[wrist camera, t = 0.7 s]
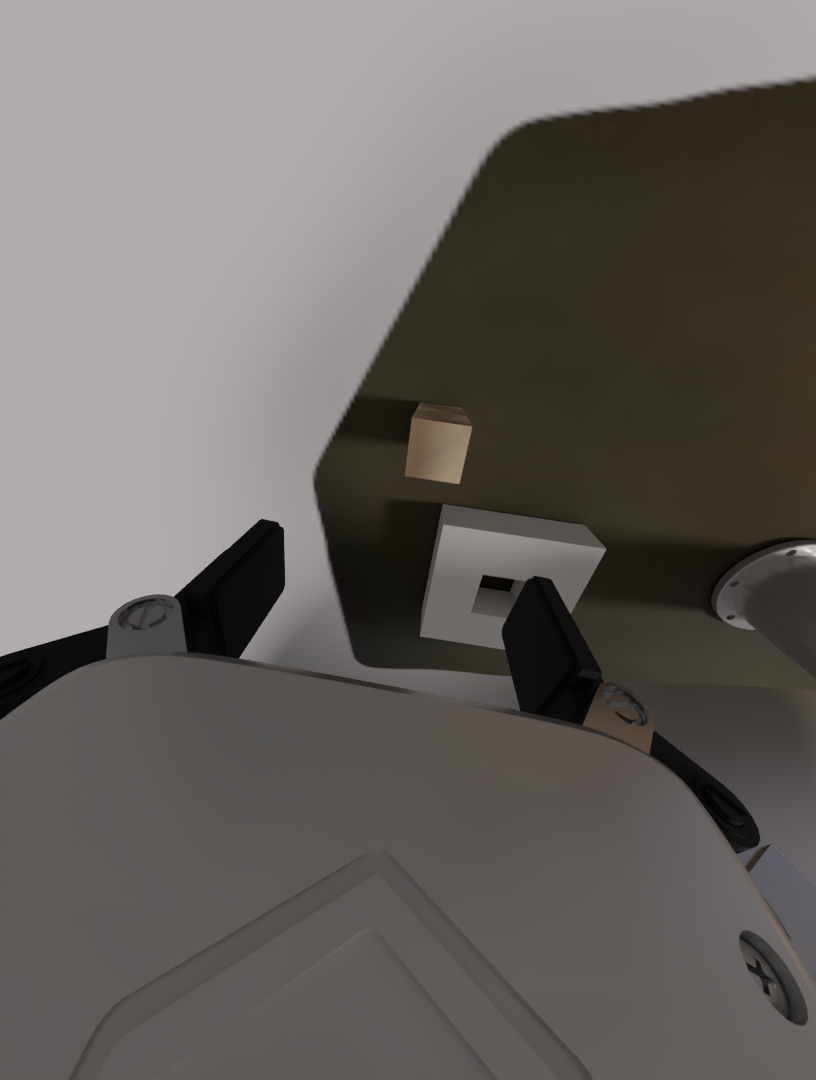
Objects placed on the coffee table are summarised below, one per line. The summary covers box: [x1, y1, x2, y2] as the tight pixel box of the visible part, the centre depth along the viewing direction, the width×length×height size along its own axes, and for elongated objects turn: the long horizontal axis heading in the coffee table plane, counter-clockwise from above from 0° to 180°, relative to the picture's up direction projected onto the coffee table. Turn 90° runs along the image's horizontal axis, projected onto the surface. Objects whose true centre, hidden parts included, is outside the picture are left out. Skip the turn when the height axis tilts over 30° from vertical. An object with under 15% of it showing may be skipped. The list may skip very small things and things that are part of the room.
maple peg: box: [405, 402, 472, 484], centre depth 25 cm, size 4×4×10 cm
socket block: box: [420, 504, 606, 650], centre depth 35 cm, size 16×16×5 cm
